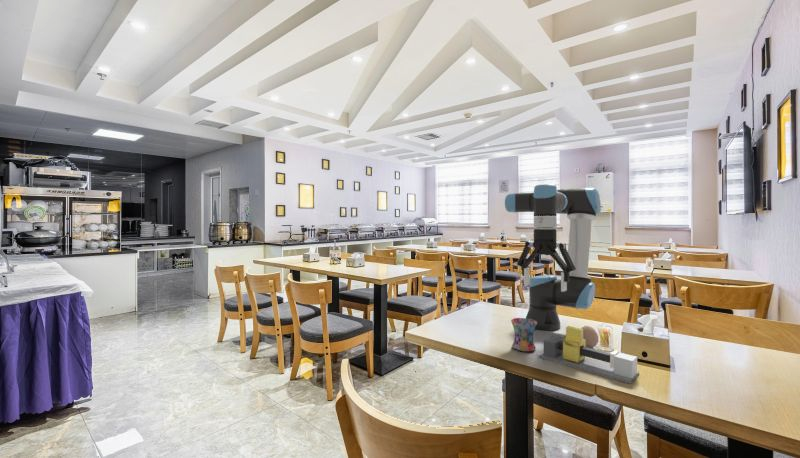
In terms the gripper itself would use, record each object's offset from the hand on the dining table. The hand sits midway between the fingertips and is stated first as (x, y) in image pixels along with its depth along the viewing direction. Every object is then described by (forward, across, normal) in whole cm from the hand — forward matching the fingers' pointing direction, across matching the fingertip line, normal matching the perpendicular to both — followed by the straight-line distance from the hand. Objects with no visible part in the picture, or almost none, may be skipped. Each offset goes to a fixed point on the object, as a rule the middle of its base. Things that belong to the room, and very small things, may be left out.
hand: (544, 288), depth 127 cm
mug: (+25, -9, +3) cm, 27 cm away
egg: (+25, +7, +21) cm, 34 cm away
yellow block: (+23, +9, +3) cm, 25 cm away
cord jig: (+25, +13, +3) cm, 28 cm away
